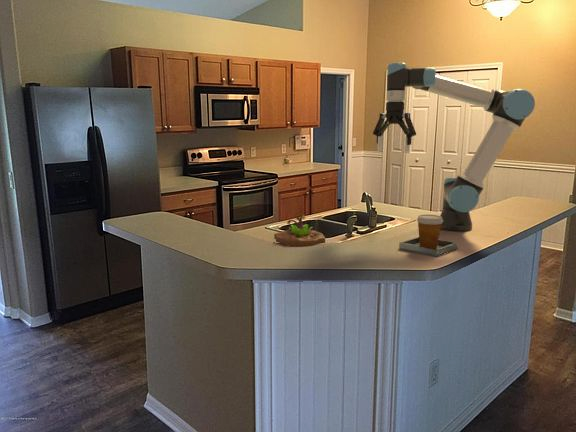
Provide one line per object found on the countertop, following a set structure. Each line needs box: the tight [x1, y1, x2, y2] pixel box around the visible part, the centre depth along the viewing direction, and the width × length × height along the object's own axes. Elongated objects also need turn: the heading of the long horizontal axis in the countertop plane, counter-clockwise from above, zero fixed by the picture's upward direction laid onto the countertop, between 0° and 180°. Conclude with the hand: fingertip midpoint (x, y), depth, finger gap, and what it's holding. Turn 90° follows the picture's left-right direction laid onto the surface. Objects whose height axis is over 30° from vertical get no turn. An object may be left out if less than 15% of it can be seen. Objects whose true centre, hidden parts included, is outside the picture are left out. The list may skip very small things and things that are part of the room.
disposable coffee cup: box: [416, 214, 443, 249], centre depth 182 cm, size 10×10×12 cm
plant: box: [273, 214, 326, 247], centre depth 197 cm, size 20×20×11 cm
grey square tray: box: [398, 236, 459, 258], centre depth 183 cm, size 16×16×2 cm
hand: (393, 152), depth 206 cm, fingers open, 13 cm apart
